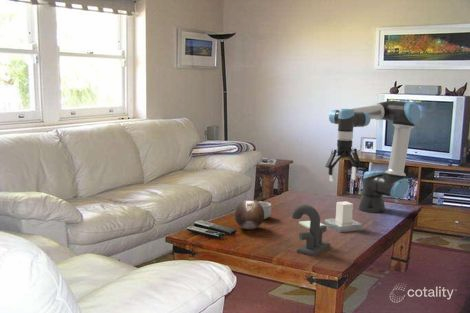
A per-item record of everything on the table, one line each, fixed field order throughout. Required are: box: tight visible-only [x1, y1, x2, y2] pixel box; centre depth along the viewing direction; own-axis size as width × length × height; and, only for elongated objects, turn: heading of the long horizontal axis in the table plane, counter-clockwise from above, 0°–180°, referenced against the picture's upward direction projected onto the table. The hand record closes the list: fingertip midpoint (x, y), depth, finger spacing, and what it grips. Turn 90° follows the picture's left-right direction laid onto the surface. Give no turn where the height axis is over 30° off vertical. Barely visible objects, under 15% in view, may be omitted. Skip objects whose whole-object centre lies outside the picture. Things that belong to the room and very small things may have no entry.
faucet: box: [291, 204, 331, 257], centre depth 238 cm, size 18×16×20 cm
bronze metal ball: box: [234, 199, 265, 230], centre depth 264 cm, size 15×15×15 cm
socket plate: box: [323, 217, 364, 233], centre depth 272 cm, size 14×14×3 cm
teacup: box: [257, 201, 272, 220], centre depth 286 cm, size 14×11×8 cm
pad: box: [298, 220, 326, 230], centre depth 274 cm, size 10×10×1 cm
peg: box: [335, 200, 354, 224], centre depth 271 cm, size 6×6×13 cm
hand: (342, 180), depth 269 cm, fingers open, 13 cm apart
